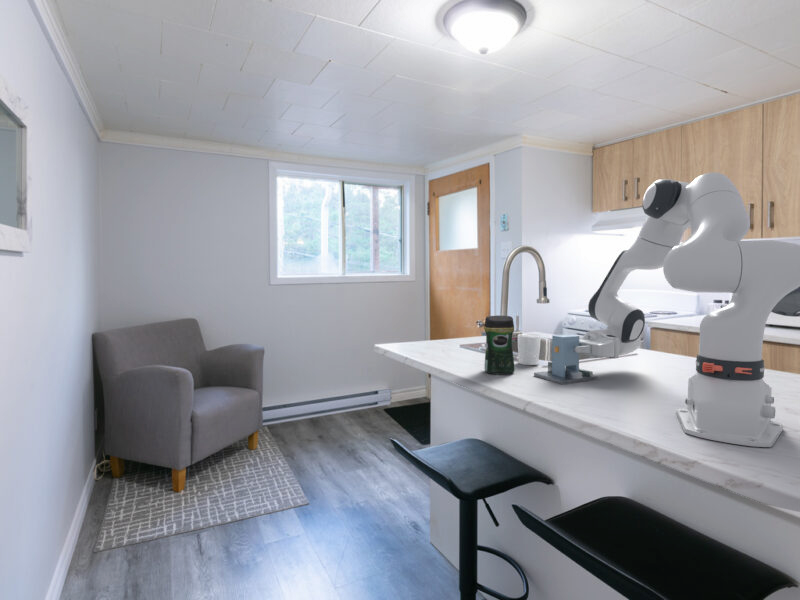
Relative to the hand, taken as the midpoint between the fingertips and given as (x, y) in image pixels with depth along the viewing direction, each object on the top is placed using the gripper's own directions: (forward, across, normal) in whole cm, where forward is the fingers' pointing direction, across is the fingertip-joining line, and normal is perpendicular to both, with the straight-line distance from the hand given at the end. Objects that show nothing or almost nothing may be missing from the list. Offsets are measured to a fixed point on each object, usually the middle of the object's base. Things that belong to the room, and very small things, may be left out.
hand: (563, 347), depth 142 cm
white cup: (-5, -22, +10) cm, 25 cm away
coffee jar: (+13, -15, +10) cm, 22 cm away
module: (-1, 0, +8) cm, 9 cm away
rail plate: (-1, 0, +10) cm, 10 cm away
